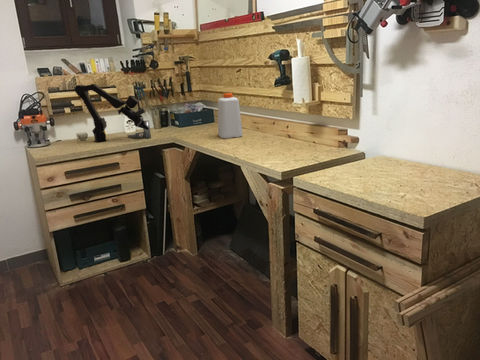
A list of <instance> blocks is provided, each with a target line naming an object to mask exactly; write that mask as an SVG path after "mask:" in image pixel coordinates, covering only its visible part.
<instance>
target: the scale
mask: <svg viewBox="0 0 480 360" xmlns="http://www.w3.org/2000/svg"><path fill="white" fill-rule="evenodd" d="M138 132H139V133H135V132H134V133H135V135H131V134H127V135H126V136H127V138H129V139H133V140H139V139H140V140H141V139H145V138H144V131H138Z"/></svg>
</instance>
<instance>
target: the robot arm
mask: <svg viewBox="0 0 480 360" xmlns="http://www.w3.org/2000/svg"><path fill="white" fill-rule="evenodd" d="M89 91H90V92H91V91H92V92H94V93H95V94H97V95H98V96H99V97H102V98H103V99H104V100H106V101H108V103H109V104H110V105H111V106H112V107H113V108H114V109H117V112H118V115H120V114H121V113H122V114H123V115H124V116H125V117H126V118H127V119H129V120H131V121H132V122H133V124H134V126H135V127H137V128H140V129H147V130H148V129H149V128H148V127H147V126H146V125H145V124H144V122H143V121H145V120H144V117H143V115H142V114H145V113H146V110H145V109H144V107H139V108H137V110H136V111H135V110H133V109H134V108H136V106H138V104H139V102H140V101H139V100H138V99H137V98H136V97H134V96H133V95H129V96H128V98H127V99H126V100H122V99H121V98H119V97H117V96H113V95H111V94H110V93H109V92H107V91H106V90H104V89H103V88H101V87H100V86H98V85H97V84H96V83H91V84H87V85H85V84H78V85H75V87H74V93H76V95H77V96H78V97H79V98H80V99H81V100H82V102H83V103H84V105H85V107H86V109H87V110H88V112H89V114H90V116H91V117H92V120H93V125H94V128H93V129H92V130H91V131H92V134H93V136H94V140H93V142H95V143H103V142H107V141H108V140H107V135H106V133H105V130H106V129H107V124H108V123H107V121H106V120H105V117H101V116H100V114H99V112H98V111H97V109H96V107H95V106H94V103H93V101H92V100H91V98H90V96H89V95H90V93H89ZM124 105H125V106H124Z"/></svg>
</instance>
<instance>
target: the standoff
mask: <svg viewBox="0 0 480 360" xmlns="http://www.w3.org/2000/svg"><path fill="white" fill-rule="evenodd" d="M143 122H144V124H145V125H146V126H147V127H148V128H149V129H148V130H147V129H143V128H142V129H143V132H144V138H143V139H145V140H149V138H150V139H152V135H151V133H152V132H151V125H150V120H148V119H147V120H144V121H143Z"/></svg>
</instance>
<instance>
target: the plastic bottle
mask: <svg viewBox="0 0 480 360" xmlns="http://www.w3.org/2000/svg"><path fill="white" fill-rule="evenodd" d="M233 95H234V94H233V93H231V92H229V93H228V92H227V93H223V97H219V98H218V100H217V135H218V136H219V137H220V138H221V139H232V138H233V137H235V138H241V137H242V136H243V135H244V133H243V126H242V117H241V109H240V100H239V98H237V97H236V96H235V97H234V96H233Z"/></svg>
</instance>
